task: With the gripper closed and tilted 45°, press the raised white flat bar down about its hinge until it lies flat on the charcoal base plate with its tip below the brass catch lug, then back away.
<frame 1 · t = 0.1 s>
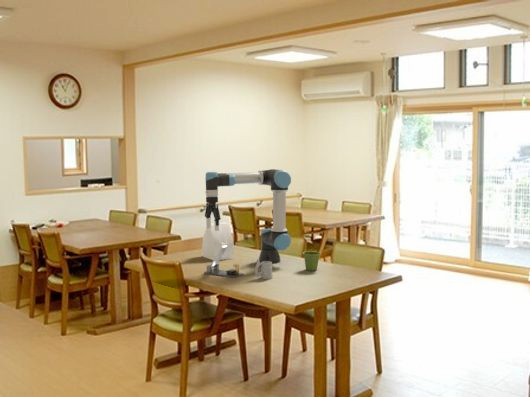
hand: (212, 229, 389), 28 cm above the table, tool pointing down, fingers open, 13 cm apart
milk carton: (217, 257, 441), on the table
white flat bar: (218, 256, 388), point 11 cm above the table, hinge at 55.0°
mug: (263, 278, 376), on the table
plant pot: (311, 270, 400), on the table
strap base: (212, 272, 392), on the table
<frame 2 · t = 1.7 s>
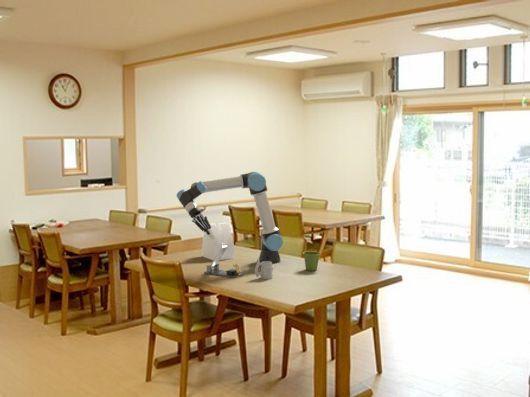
hand: (213, 238, 389), 22 cm above the table, tool tilted 45°, fingers closed
nothing on the table moved.
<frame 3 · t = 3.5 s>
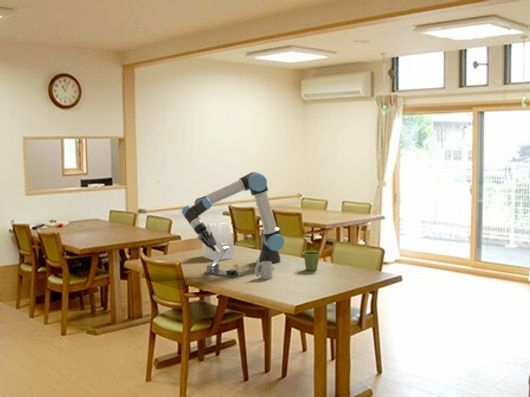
hand: (218, 254, 387), 12 cm above the table, tool tilted 45°, fingers closed
white flat bar: (218, 257, 388), point 10 cm above the table, hinge at 51.8°, touching gripper
everything else where it was.
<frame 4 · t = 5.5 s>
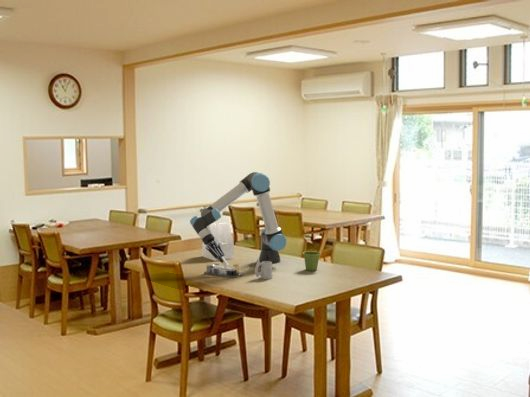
hand: (226, 265, 384), 6 cm above the table, tool tilted 45°, fingers closed
white flat bar: (222, 267, 387), point 4 cm above the table, hinge at -0.4°, touching gripper, strap base
everything else where it was.
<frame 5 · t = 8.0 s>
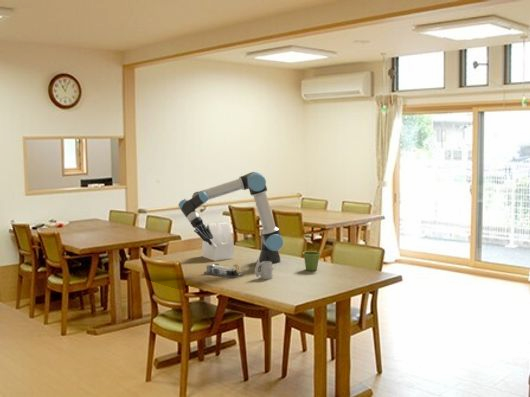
hand: (215, 248, 390), 16 cm above the table, tool tilted 45°, fingers closed
white flat bar: (222, 267, 387), point 4 cm above the table, hinge at -0.3°, touching strap base
everything else where it was.
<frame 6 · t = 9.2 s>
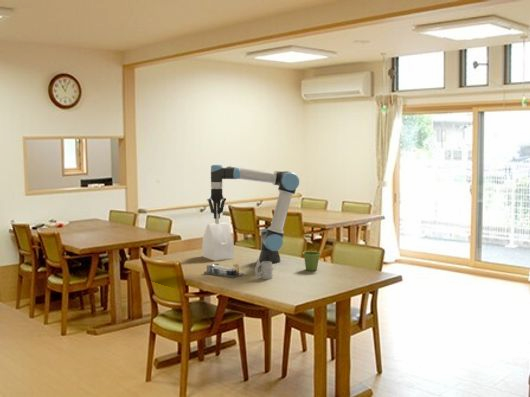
hand: (216, 223, 405), 29 cm above the table, tool pointing down, fingers closed
nothing on the table moved.
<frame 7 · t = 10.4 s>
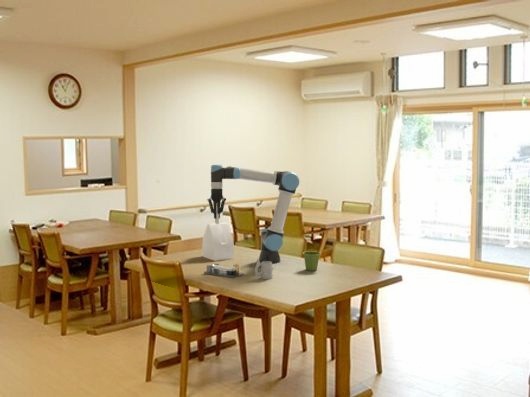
hand: (216, 223, 405), 29 cm above the table, tool pointing down, fingers closed
nothing on the table moved.
at the end: white flat bar at +0° (first picture: +55°); the gripper is holding nothing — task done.
